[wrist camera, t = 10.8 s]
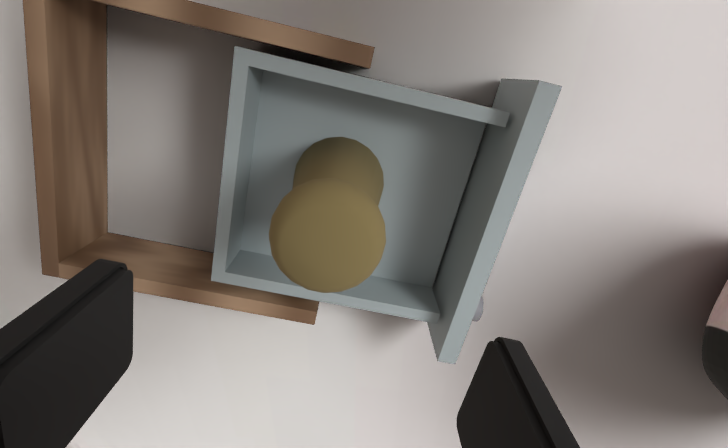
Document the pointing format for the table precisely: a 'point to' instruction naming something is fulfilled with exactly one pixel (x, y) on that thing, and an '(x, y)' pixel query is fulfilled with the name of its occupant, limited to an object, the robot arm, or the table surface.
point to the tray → (401, 182)
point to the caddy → (89, 147)
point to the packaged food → (717, 343)
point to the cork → (331, 217)
